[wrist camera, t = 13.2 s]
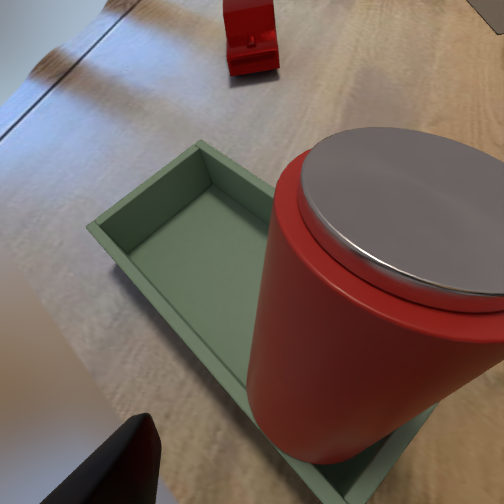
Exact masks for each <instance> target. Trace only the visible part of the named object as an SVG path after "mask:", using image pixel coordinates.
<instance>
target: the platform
mask: <svg viewBox="0 0 504 504" xmlns="http://www.w3.org/2000/svg"><path fill="white" fill-rule="evenodd" d="M467 1H468V2H469V3H470V4H471V5H472V6H473V7H474V8H475V9H476V10H477V12H478V13H479V14H480V15H481V16H482V17H483V18H484V19H485V20H486V22H487V23H488V24H489V25H490V26H491V27H492V28H493V29H494V30H495V31H496V33H497V34H502V33H504V0H467Z"/></svg>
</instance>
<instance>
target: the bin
mask: <svg viewBox="0 0 504 504" xmlns="http://www.w3.org/2000/svg"><path fill="white" fill-rule="evenodd" d="M274 192H275V188H273V187H272V186H270V185H269V184H267V183H266V182H264V181H263V180H261V179H260V178H258V177H257V176H255V175H254V174H252V173H251V172H249V171H248V170H246V169H245V168H243V167H242V166H240V165H239V164H237V163H236V162H234V161H233V160H231V159H230V158H228V157H227V156H225V155H224V154H222V153H221V152H219V151H218V150H216V149H215V148H213V147H212V146H210V145H209V144H207V143H206V142H204V141H203V140H199V141H198V142H196V143H195V145H192V146H191V147H190V148H188V149H187V150H186V151H185V152H183V153H182V154H181V155H179V156H178V157H177V158H175V159H174V160H173V161H171V162H170V163H169V164H167V165H166V166H165V167H163V168H162V169H161V170H159V171H158V172H157V173H155V174H154V175H153V176H152V177H150V178H149V179H148V180H146V181H145V182H144V183H142V184H141V185H140V186H138V187H137V188H136V189H134V190H133V191H132V192H130V193H129V194H128V195H126V196H125V197H124V198H123V199H121V200H120V201H119V202H117V203H116V204H115V205H113V206H112V207H111V208H109V209H108V210H107V211H105V212H104V213H103V214H101V215H100V216H99V217H97V218H96V219H95V220H94V221H92V222H91V223H90V224H88V225H87V226H86V229H87V230H88V231H89V232H90V233H91V234H92V236H93V237H94V238H95V239H96V240H97V241H98V243H99V244H100V245H101V246H102V247H103V248H104V249H105V251H106V252H107V253H108V254H109V255H110V256H111V258H112V259H113V260H114V261H115V262H116V263H117V265H118V266H119V267H120V268H121V269H122V270H123V272H124V273H125V274H126V275H127V276H128V277H129V279H130V280H131V281H132V282H133V283H134V284H135V286H136V287H137V288H138V289H139V290H140V291H141V293H142V294H143V295H144V296H145V297H146V298H147V300H148V301H149V302H150V303H151V304H152V305H153V307H154V308H155V309H156V310H157V311H158V312H159V314H160V315H161V316H162V317H163V318H164V319H165V321H166V322H167V323H168V324H169V325H170V326H171V328H172V329H173V330H174V331H175V332H176V333H177V335H178V336H179V337H180V338H181V339H182V340H183V342H184V343H185V344H186V345H187V346H188V347H189V349H190V350H191V351H192V352H193V353H194V354H195V355H196V357H197V358H198V359H199V360H200V361H201V362H202V364H203V365H204V366H205V367H206V368H207V369H208V371H209V372H210V373H211V374H212V375H213V376H214V378H215V379H216V380H217V381H218V382H219V383H220V385H221V386H222V387H223V388H224V389H225V390H226V392H227V393H228V394H229V395H230V396H231V397H232V399H233V400H234V401H235V402H236V403H237V404H238V406H239V407H240V408H241V409H242V410H243V411H244V413H245V414H246V415H247V416H248V417H249V418H250V420H251V421H252V422H253V423H254V424H255V425H256V427H257V428H258V429H259V430H260V431H261V432H262V434H263V435H264V436H265V437H266V438H267V436H266V435H265V434H264V433H263V431H262V430H261V429H260V427H259V425H258V424H257V422H256V420H255V418H254V416H253V414H252V411H251V408H250V405H249V402H248V396H247V387H246V381H247V371H248V364H249V358H250V351H251V344H252V338H253V331H254V324H255V318H256V311H257V304H258V298H259V291H260V285H261V278H262V271H263V265H264V258H265V251H266V245H267V238H268V231H269V225H270V218H271V211H272V205H273V198H274ZM438 403H439V402H438ZM438 403H436V404H434V405H433V406H431V407H430V408H428V409H427V410H425V411H424V412H422V413H421V414H419V415H417V416H416V417H414V418H413V419H411V420H410V421H408V422H407V423H405V424H403V425H402V426H400V427H399V428H397V429H396V430H394V431H393V432H391V433H390V434H388V435H386V436H385V437H383V438H382V439H380V440H379V441H377V442H376V443H374V444H372V445H371V446H369V447H368V448H366V449H365V450H363V451H362V452H360V453H359V454H357V455H355V456H354V457H352V458H350V459H348V460H346V461H343V462H339V463H335V464H324V465H322V464H312V463H308V462H304V461H301V460H299V459H296V458H294V457H292V456H290V455H288V454H287V453H285V452H283V451H282V450H281V449H279V448H278V447H277V446H275V445H274V444H273V443H272V442H271V441H270V440H269V439H268V438H267V439H268V441H269V442H270V443H271V444H272V445H273V446H274V448H275V449H276V450H277V451H278V452H279V453H280V454H281V456H282V457H283V458H284V459H285V460H286V461H287V463H288V464H289V465H290V466H291V467H292V468H293V470H294V471H295V472H296V473H297V474H298V475H299V477H300V478H301V479H302V480H303V481H304V482H305V484H306V485H307V486H308V487H309V488H310V489H311V491H312V492H313V493H314V494H315V495H316V496H317V498H318V499H319V500H320V501H321V502H322V503H323V504H366V503H367V501H368V500H369V499H370V497H371V496H372V494H373V493H374V492H375V490H376V489H377V487H378V486H379V485H380V483H381V482H382V481H383V479H384V478H385V476H386V475H387V474H388V472H389V471H390V469H391V468H392V467H393V465H394V464H395V462H396V461H397V460H398V458H399V457H400V456H401V454H402V453H403V451H404V450H405V449H406V447H407V446H408V444H409V443H410V442H411V440H412V439H413V437H414V436H415V435H416V433H417V432H418V431H419V429H420V428H421V426H422V425H423V424H424V422H425V421H426V419H427V418H428V417H429V415H430V414H431V412H432V411H433V410H434V408H435V407H436V406H437V404H438Z"/></svg>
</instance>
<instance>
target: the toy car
mask: <svg viewBox="0 0 504 504" xmlns="http://www.w3.org/2000/svg"><path fill="white" fill-rule="evenodd" d="M223 18H224V24H225V31H226V37H227V55H226V56H227V63H228V68H229V72H230V76H236V75H242V74H248V73H254V72H260V71H266V70H272V69H278V68H280V64H279V51H278V43H277V35H276V26H275V15H274V4H273V0H223Z"/></svg>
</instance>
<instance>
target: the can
mask: <svg viewBox="0 0 504 504" xmlns="http://www.w3.org/2000/svg"><path fill="white" fill-rule="evenodd" d="M503 360H504V163H503V162H502V161H500V160H498V159H496V158H494V157H492V156H490V155H488V154H486V153H484V152H482V151H480V150H477V149H475V148H473V147H470V146H468V145H465V144H462V143H460V142H457V141H454V140H451V139H448V138H445V137H441V136H437V135H433V134H429V133H425V132H420V131H414V130H408V129H400V128H388V127H368V128H358V129H352V130H347V131H343V132H339V133H336V134H334V135H331V136H329V137H327V138H325V139H323V140H322V141H320V142H319V143H317V144H316V145H315V146H314V147H313V148H312V149H310V150H307V151H305V152H304V153H302V154H301V155H299V156H297V157H296V158H295V159H294V160H293V161H292V162H290V163H289V164H288V166H287V167H286V168H285V169H284V171H283V172H282V173H281V175H280V177H279V179H278V182H277V184H276V188H275V192H274V198H273V205H272V211H271V218H270V225H269V231H268V238H267V245H266V251H265V258H264V265H263V271H262V278H261V285H260V291H259V298H258V304H257V311H256V318H255V324H254V331H253V338H252V344H251V351H250V358H249V364H248V371H247V381H246V387H247V396H248V402H249V405H250V408H251V411H252V414H253V416H254V418H255V420H256V422H257V424H258V425H259V427H260V429H261V430H262V431H263V433H264V434H265V435H266V436H267V438H268V439H269V440H270V441H271V442H272V443H273V444H274V445H275V446H277V447H278V448H279V449H281V450H282V451H283V452H285V453H287V454H288V455H290V456H292V457H294V458H296V459H299V460H301V461H304V462H308V463H312V464H322V465H324V464H335V463H339V462H343V461H346V460H348V459H350V458H352V457H354V456H355V455H357V454H359V453H360V452H362V451H363V450H365V449H366V448H368V447H369V446H371V445H372V444H374V443H376V442H377V441H379V440H380V439H382V438H383V437H385V436H386V435H388V434H390V433H391V432H393V431H394V430H396V429H397V428H399V427H400V426H402V425H403V424H405V423H407V422H408V421H410V420H411V419H413V418H414V417H416V416H417V415H419V414H421V413H422V412H424V411H425V410H427V409H428V408H430V407H431V406H433V405H434V404H436V403H438V402H439V401H441V400H442V399H444V398H445V397H447V396H448V395H450V394H452V393H453V392H455V391H456V390H458V389H459V388H461V387H462V386H464V385H465V384H467V383H469V382H470V381H472V380H473V379H475V378H476V377H478V376H479V375H481V374H483V373H484V372H486V371H487V370H489V369H490V368H492V367H493V366H495V365H496V364H498V363H500V362H501V361H503Z"/></svg>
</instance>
